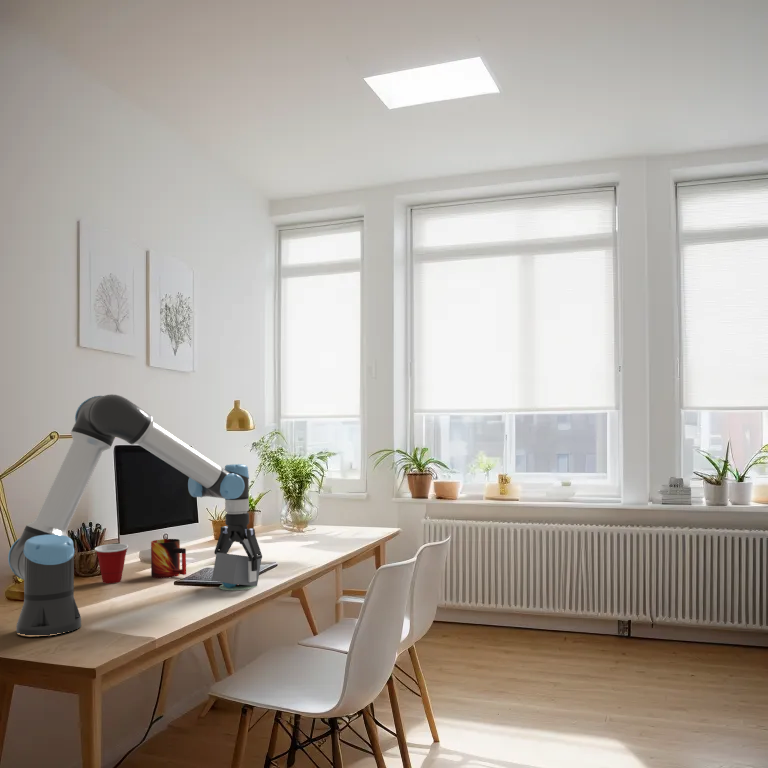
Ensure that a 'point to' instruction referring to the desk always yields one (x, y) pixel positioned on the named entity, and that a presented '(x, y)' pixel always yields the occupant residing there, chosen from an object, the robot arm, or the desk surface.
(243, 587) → the disc
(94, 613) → the desk surface
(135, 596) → the desk surface
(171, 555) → the mug
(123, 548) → the plastic cup
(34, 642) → the desk surface
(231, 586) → the ball
